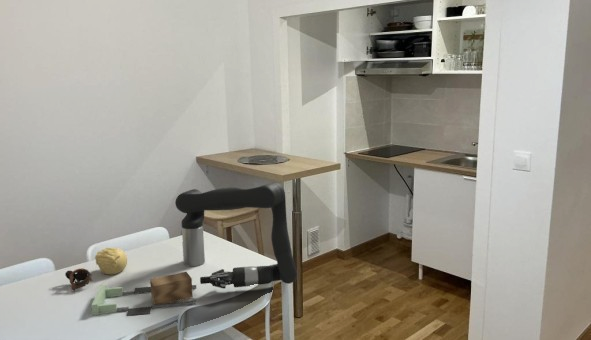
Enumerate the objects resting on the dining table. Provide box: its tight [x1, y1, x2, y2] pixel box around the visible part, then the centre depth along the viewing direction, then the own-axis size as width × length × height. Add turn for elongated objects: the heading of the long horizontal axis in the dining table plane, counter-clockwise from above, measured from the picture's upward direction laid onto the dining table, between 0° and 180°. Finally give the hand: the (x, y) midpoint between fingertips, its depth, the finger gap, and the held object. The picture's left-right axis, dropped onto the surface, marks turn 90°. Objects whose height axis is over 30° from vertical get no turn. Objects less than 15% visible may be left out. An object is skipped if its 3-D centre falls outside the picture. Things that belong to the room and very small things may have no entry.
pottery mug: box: [64, 268, 93, 291], centre depth 194 cm, size 12×10×8 cm
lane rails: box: [116, 284, 197, 313], centre depth 183 cm, size 28×14×1 cm, turn 101°
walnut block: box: [149, 271, 194, 304], centre depth 183 cm, size 14×7×8 cm, turn 118°
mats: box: [126, 286, 152, 317], centre depth 182 cm, size 8×22×1 cm, turn 11°
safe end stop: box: [91, 284, 123, 316], centre depth 180 cm, size 8×16×4 cm, turn 11°
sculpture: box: [94, 247, 128, 275], centre depth 207 cm, size 12×12×11 cm
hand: (200, 280), depth 185 cm, fingers closed
